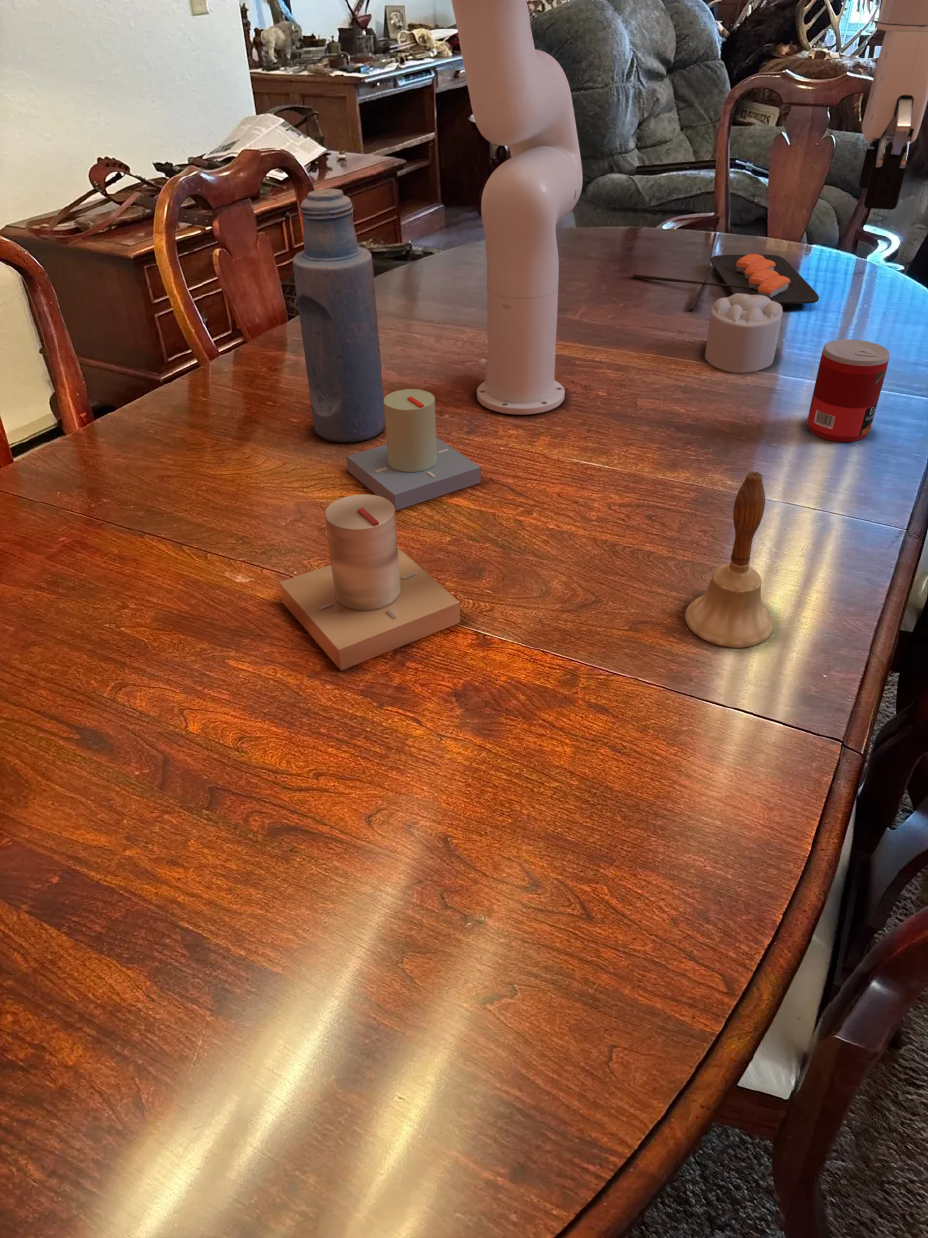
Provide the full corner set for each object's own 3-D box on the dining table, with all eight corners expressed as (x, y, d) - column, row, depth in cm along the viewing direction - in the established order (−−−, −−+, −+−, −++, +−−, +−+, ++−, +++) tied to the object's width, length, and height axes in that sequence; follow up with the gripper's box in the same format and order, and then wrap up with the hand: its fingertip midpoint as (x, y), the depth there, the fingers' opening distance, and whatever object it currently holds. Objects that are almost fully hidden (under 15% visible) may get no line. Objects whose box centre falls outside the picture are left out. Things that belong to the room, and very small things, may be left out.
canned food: (873, 445, 119) (895, 362, 112) (808, 440, 120) (826, 358, 113) (864, 420, 125) (885, 340, 118) (803, 416, 126) (820, 337, 119)
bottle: (400, 426, 126) (385, 189, 108) (345, 451, 120) (320, 204, 102) (354, 407, 131) (332, 178, 113) (299, 430, 125) (267, 192, 107)
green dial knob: (379, 458, 113) (374, 394, 108) (421, 445, 116) (417, 382, 111) (403, 476, 109) (399, 411, 104) (446, 463, 112) (444, 398, 107)
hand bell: (757, 658, 84) (791, 506, 75) (671, 630, 88) (693, 481, 78) (783, 612, 90) (818, 465, 80) (702, 588, 94) (726, 444, 84)
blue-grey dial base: (347, 471, 115) (346, 454, 114) (429, 447, 120) (429, 430, 119) (395, 511, 107) (394, 493, 106) (480, 482, 112) (480, 465, 111)
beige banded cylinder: (323, 586, 90) (312, 503, 85) (380, 566, 93) (373, 484, 88) (353, 618, 86) (344, 533, 81) (412, 596, 89) (407, 512, 83)
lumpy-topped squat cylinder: (777, 346, 147) (787, 291, 142) (769, 376, 137) (780, 318, 132) (711, 339, 150) (718, 285, 145) (698, 368, 140) (706, 311, 135)
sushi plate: (822, 312, 160) (827, 289, 158) (649, 314, 161) (651, 292, 158) (778, 263, 183) (782, 243, 181) (627, 265, 184) (629, 245, 182)
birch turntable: (282, 602, 93) (278, 580, 91) (394, 562, 98) (392, 541, 97) (340, 671, 84) (338, 648, 82) (460, 622, 90) (459, 600, 88)
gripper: (874, 5, 99) (837, 179, 109) (886, 18, 85) (843, 214, 96) (949, 6, 97) (905, 182, 107) (974, 19, 84) (920, 218, 94)
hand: (876, 197), depth 101 cm, fingers open, 9 cm apart
